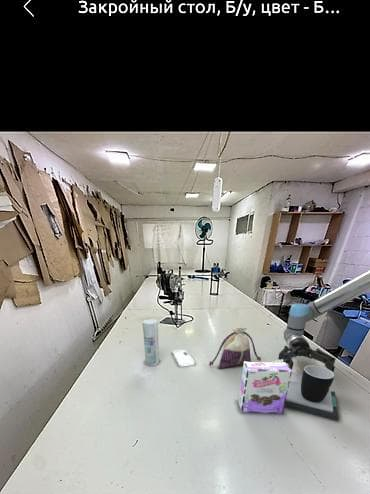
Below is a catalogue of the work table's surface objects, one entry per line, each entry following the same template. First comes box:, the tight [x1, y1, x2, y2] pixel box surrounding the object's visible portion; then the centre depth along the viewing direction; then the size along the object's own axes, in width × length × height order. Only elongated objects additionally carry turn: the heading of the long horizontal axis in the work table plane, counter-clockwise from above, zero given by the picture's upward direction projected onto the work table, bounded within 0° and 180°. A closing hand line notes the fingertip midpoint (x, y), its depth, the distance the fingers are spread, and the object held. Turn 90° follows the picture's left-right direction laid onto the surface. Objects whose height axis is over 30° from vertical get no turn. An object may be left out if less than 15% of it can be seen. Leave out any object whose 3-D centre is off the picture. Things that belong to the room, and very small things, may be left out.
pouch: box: [208, 327, 262, 369], centre depth 104 cm, size 25×8×19 cm, turn 110°
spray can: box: [142, 318, 160, 366], centre depth 106 cm, size 6×6×20 cm
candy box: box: [237, 361, 293, 414], centre depth 77 cm, size 14×6×16 cm, turn 88°
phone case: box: [172, 349, 196, 368], centre depth 113 cm, size 7×1×15 cm
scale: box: [284, 380, 339, 422], centre depth 83 cm, size 16×15×3 cm
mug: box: [300, 364, 335, 402], centre depth 81 cm, size 12×9×10 cm
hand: (312, 368), depth 84 cm, fingers open, 13 cm apart
